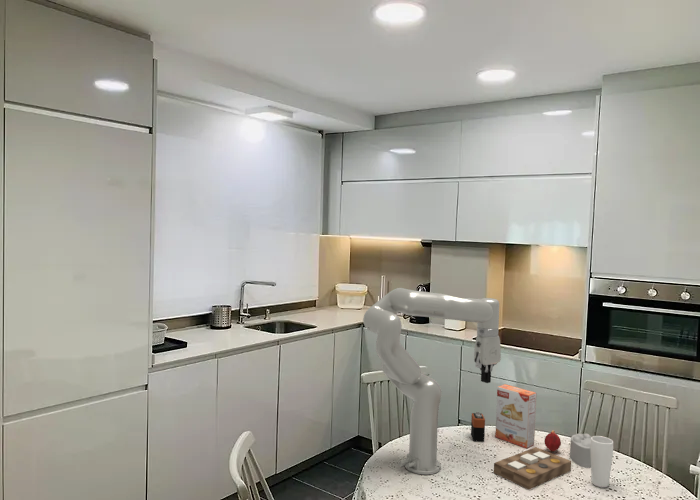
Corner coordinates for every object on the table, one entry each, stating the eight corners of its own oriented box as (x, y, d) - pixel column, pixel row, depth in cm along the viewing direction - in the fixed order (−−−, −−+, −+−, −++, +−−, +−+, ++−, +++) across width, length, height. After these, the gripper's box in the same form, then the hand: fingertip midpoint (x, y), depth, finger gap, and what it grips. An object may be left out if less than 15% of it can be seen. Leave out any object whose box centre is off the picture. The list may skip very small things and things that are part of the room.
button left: (517, 475, 180) (518, 468, 180) (507, 470, 183) (507, 463, 183) (525, 472, 182) (525, 465, 182) (515, 467, 186) (515, 460, 186)
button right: (542, 465, 188) (542, 458, 188) (532, 460, 191) (532, 454, 191) (549, 462, 191) (549, 455, 190) (539, 457, 194) (539, 451, 194)
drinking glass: (592, 477, 183) (594, 434, 182) (613, 484, 178) (615, 439, 178) (586, 484, 177) (588, 439, 177) (608, 491, 173) (610, 445, 172)
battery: (473, 441, 211) (474, 416, 210) (470, 434, 217) (471, 410, 217) (484, 442, 210) (485, 417, 210) (481, 435, 217) (482, 411, 217)
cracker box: (494, 437, 215) (496, 386, 214) (502, 434, 219) (504, 383, 218) (526, 449, 205) (528, 394, 204) (534, 445, 209) (537, 391, 208)
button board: (528, 489, 173) (529, 478, 173) (493, 473, 184) (494, 462, 184) (570, 470, 187) (571, 460, 187) (535, 456, 198) (536, 446, 198)
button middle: (530, 467, 184) (530, 460, 184) (520, 463, 187) (520, 456, 187) (537, 464, 186) (538, 457, 186) (527, 460, 190) (527, 453, 190)
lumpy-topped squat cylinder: (579, 467, 190) (580, 443, 190) (564, 452, 203) (565, 429, 203) (608, 468, 190) (609, 444, 190) (591, 452, 203) (592, 430, 203)
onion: (561, 455, 200) (562, 434, 199) (545, 454, 201) (546, 432, 200) (558, 449, 205) (559, 428, 205) (543, 447, 206) (543, 427, 206)
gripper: (482, 336, 189) (480, 387, 190) (509, 332, 198) (507, 381, 199) (465, 332, 195) (464, 382, 196) (492, 328, 204) (490, 376, 205)
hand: (485, 381), depth 198 cm, fingers closed
